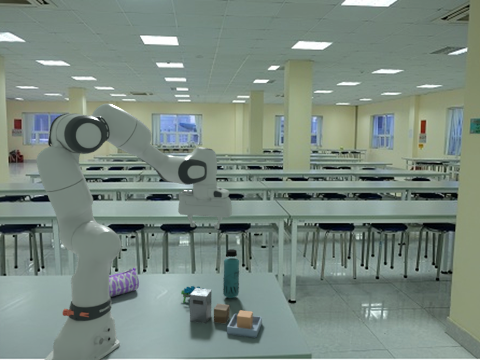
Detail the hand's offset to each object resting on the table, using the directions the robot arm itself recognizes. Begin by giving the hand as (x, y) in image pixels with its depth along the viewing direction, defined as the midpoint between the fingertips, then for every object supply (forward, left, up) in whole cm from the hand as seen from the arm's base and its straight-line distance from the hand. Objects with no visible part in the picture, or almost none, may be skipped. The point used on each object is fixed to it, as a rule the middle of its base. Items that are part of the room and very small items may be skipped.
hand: (204, 227), depth 149 cm
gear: (+4, +5, -31) cm, 32 cm away
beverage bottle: (+10, -8, -31) cm, 34 cm away
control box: (-10, -2, -31) cm, 33 cm away
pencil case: (0, +39, -31) cm, 50 cm away
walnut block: (-9, -9, -31) cm, 34 cm away
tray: (-13, -19, -31) cm, 39 cm away
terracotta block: (-13, -19, -30) cm, 38 cm away
